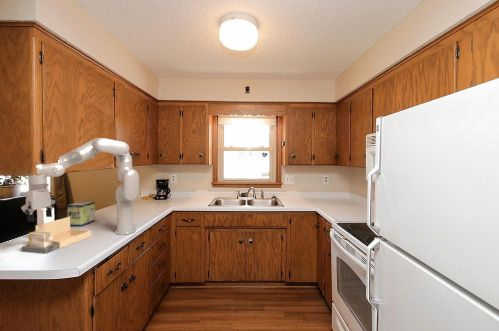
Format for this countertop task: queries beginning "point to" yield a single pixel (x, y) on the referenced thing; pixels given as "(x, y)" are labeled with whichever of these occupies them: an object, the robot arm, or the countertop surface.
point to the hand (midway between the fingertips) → (40, 219)
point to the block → (40, 239)
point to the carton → (63, 232)
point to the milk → (44, 216)
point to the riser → (39, 249)
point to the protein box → (81, 213)
